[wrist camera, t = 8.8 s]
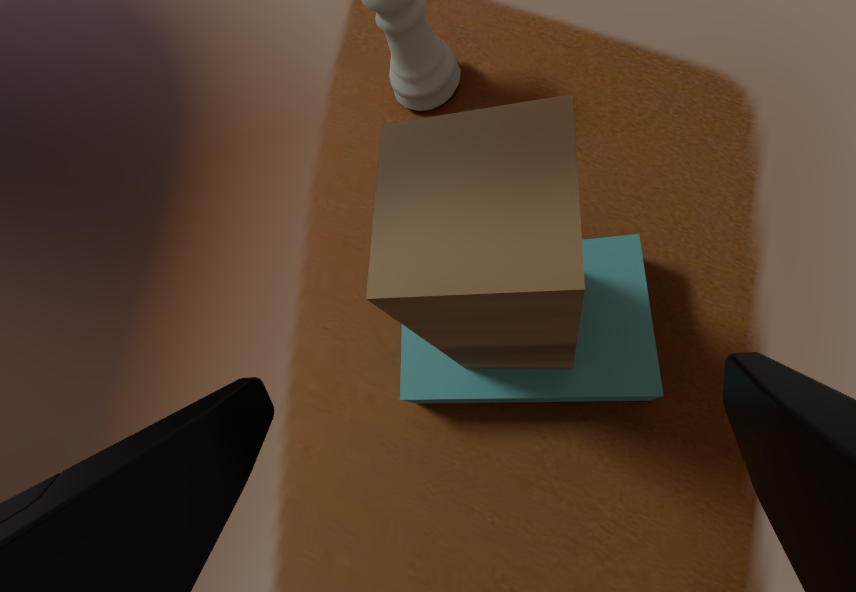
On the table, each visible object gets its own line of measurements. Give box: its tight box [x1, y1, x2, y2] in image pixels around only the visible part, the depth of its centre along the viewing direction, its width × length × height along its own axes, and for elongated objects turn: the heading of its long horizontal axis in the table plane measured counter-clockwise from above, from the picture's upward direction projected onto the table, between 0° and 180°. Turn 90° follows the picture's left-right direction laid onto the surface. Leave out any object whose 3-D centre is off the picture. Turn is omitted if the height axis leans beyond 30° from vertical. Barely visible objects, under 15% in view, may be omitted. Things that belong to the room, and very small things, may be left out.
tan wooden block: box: [366, 94, 585, 369], centre depth 15 cm, size 5×5×11 cm
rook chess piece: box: [361, 0, 461, 111], centre depth 25 cm, size 4×4×8 cm
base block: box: [400, 234, 664, 404], centre depth 21 cm, size 7×11×2 cm, turn 90°
